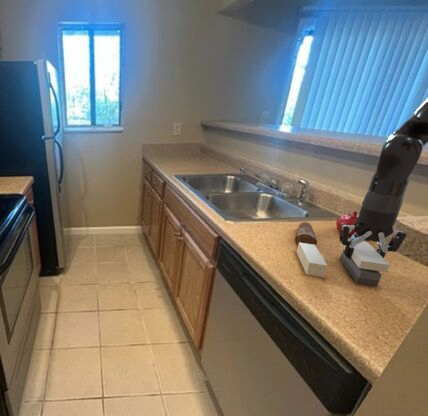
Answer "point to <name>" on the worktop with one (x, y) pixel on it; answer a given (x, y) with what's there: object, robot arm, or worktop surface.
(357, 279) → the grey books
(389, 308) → the worktop surface
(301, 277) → the worktop surface
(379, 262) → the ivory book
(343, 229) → the robot arm
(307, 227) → the bread
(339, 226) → the pomegranate
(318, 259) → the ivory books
